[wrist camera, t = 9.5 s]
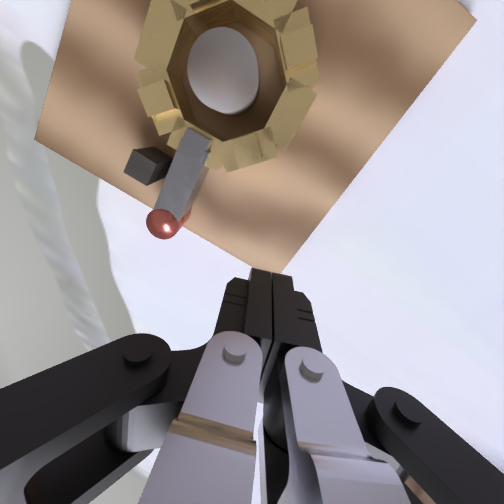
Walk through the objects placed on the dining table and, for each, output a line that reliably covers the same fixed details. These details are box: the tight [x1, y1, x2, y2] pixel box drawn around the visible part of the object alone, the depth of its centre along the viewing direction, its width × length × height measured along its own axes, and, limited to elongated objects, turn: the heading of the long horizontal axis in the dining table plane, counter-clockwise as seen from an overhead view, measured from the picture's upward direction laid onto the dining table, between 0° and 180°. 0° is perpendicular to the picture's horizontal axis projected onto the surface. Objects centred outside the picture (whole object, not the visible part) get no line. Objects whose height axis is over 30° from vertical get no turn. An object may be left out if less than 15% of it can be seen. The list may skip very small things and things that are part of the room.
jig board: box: [34, 0, 477, 274], centre depth 18 cm, size 24×24×6 cm
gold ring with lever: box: [134, 0, 320, 239], centre depth 19 cm, size 11×18×5 cm, turn 152°
